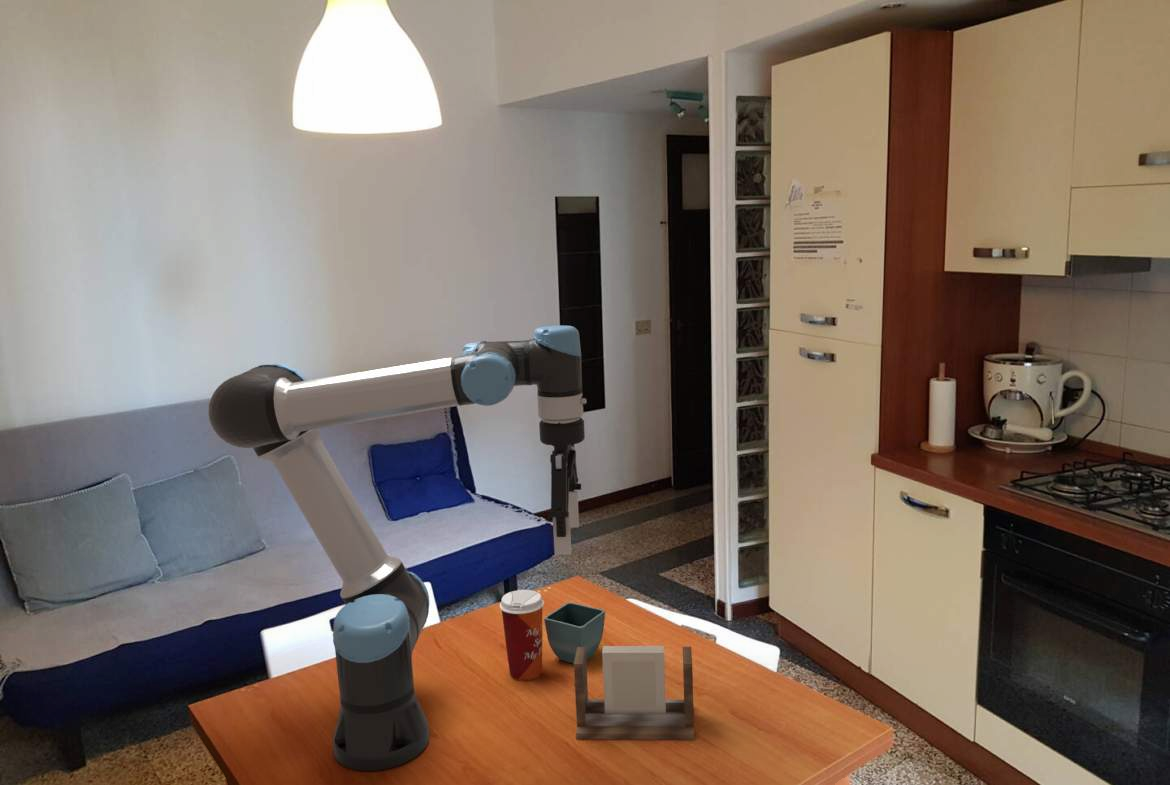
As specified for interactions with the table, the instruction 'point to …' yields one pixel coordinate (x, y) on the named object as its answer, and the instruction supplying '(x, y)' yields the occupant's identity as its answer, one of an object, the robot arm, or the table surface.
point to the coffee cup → (523, 633)
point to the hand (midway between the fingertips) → (567, 540)
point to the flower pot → (574, 630)
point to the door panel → (634, 679)
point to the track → (633, 725)
